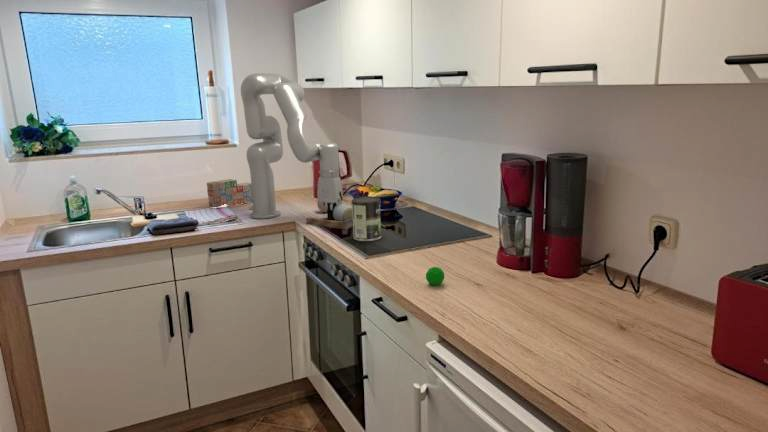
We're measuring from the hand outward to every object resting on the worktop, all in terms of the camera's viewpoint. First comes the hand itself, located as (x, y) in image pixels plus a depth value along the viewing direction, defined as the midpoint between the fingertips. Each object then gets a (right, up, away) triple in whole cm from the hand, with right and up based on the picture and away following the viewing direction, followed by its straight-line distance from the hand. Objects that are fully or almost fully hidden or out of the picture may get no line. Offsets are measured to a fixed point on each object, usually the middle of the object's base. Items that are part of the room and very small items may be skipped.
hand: (331, 218), depth 224 cm
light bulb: (+7, -2, -3) cm, 8 cm away
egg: (-4, +2, +17) cm, 17 cm away
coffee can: (+15, -7, -26) cm, 31 cm away
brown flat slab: (+3, -1, -1) cm, 4 cm away
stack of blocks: (-51, +6, +40) cm, 65 cm away
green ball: (+36, -18, -74) cm, 84 cm away
